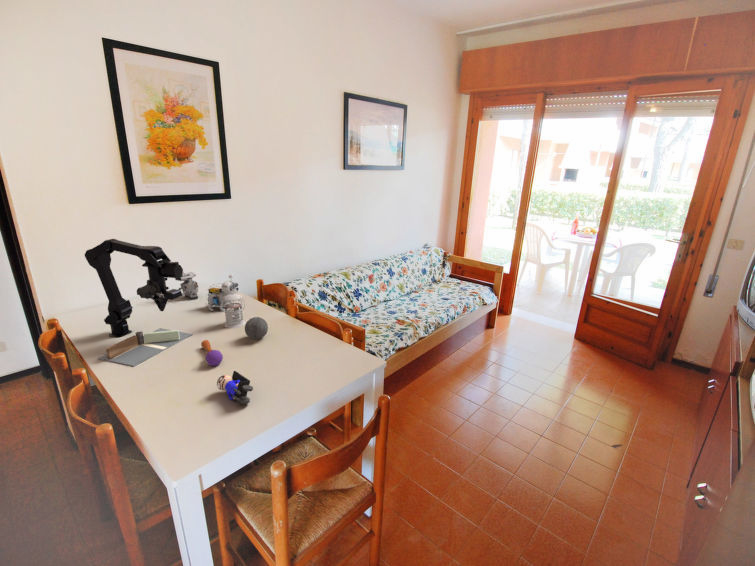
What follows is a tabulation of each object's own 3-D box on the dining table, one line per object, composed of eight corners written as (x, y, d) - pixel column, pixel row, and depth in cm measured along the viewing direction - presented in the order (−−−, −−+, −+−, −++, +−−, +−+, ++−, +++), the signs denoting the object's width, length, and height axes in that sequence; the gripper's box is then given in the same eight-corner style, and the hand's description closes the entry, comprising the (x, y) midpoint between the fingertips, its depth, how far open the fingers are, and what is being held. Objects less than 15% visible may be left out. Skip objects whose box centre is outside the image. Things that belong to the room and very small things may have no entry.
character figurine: (239, 412, 117) (216, 393, 126) (259, 400, 122) (235, 383, 132) (235, 391, 114) (212, 373, 124) (256, 380, 120) (232, 364, 129)
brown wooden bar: (106, 358, 144) (104, 346, 142) (141, 341, 158) (139, 331, 157) (111, 359, 143) (109, 348, 142) (145, 342, 158) (144, 332, 156)
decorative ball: (240, 339, 164) (238, 319, 161) (257, 331, 173) (255, 312, 170) (257, 345, 160) (255, 324, 157) (273, 336, 168) (272, 316, 166)
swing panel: (146, 341, 158) (144, 332, 157) (179, 338, 162) (178, 329, 161) (145, 343, 157) (143, 334, 155) (179, 339, 161) (178, 331, 159)
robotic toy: (235, 312, 194) (232, 285, 189) (202, 311, 194) (199, 284, 189) (243, 304, 206) (241, 278, 202) (212, 303, 206) (210, 277, 202)
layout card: (97, 358, 144) (97, 357, 144) (160, 328, 172) (160, 328, 172) (133, 366, 140) (133, 365, 140) (192, 334, 167) (192, 333, 167)
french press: (219, 325, 178) (214, 276, 171) (236, 317, 188) (232, 270, 181) (235, 329, 174) (231, 278, 167) (252, 320, 185) (248, 272, 177)
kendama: (213, 336, 158) (225, 352, 142) (212, 350, 159) (223, 367, 143) (198, 337, 154) (208, 353, 138) (197, 351, 155) (206, 368, 139)
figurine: (174, 298, 211) (170, 273, 206) (195, 294, 219) (192, 269, 214) (180, 302, 205) (176, 276, 200) (201, 298, 213) (198, 273, 208)
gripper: (122, 279, 151) (128, 314, 155) (159, 284, 146) (164, 320, 151) (145, 272, 161) (150, 305, 166) (180, 277, 156) (185, 311, 161)
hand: (162, 310), depth 160 cm, fingers closed
